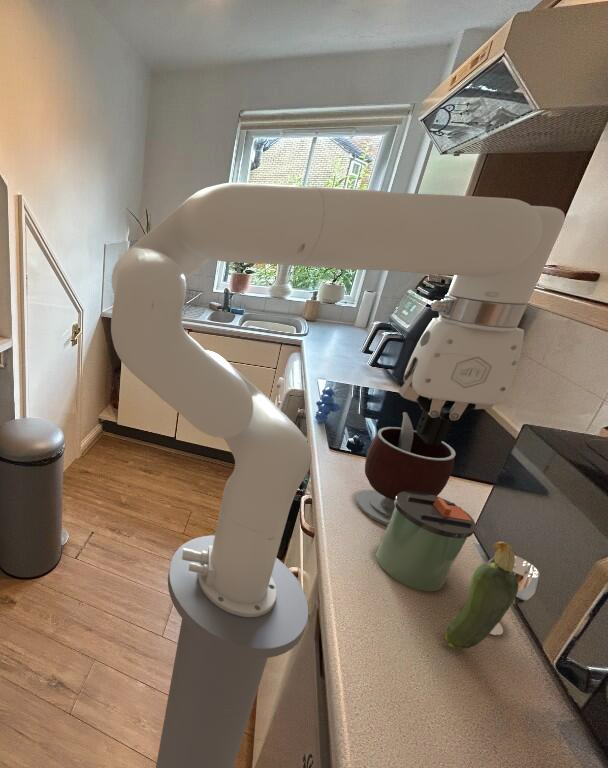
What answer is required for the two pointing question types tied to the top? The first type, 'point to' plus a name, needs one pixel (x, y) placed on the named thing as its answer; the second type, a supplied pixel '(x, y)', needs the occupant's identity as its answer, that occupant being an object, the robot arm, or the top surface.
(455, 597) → the top surface
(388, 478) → the mate gourd
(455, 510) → the shutter
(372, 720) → the top surface
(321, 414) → the grapes
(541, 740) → the top surface
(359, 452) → the top surface
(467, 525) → the travel mug
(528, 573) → the wineglass
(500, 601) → the vegetable
